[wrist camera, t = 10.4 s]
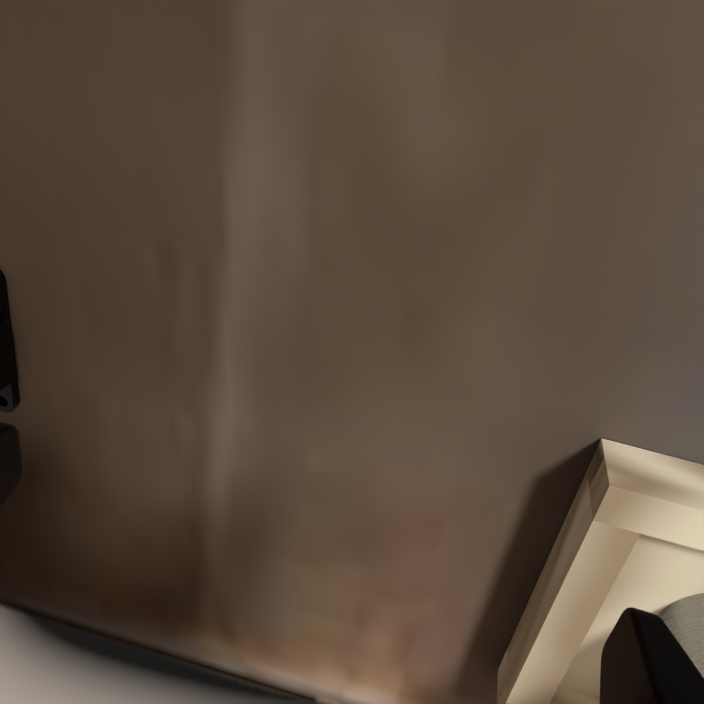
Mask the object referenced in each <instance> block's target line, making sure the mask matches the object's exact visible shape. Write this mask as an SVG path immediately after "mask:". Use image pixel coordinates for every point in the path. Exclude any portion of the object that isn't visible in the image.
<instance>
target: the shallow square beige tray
mask: <svg viewBox="0 0 704 704" xmlns="http://www.w3.org/2000/svg"><path fill="white" fill-rule="evenodd" d="M701 593H704V465H702V464H698V463H694V462H690V461H686V460H682V459H679V458H675V457H671V456H667V455H663V454H660V453H656V452H652V451H648V450H644V449H640V448H637V447H633V446H629V445H625V444H621V443H617V442H614V441H610V440H606V439H602V438H601V440H600V443H599V445H598V447H597V449H596V452H595V454H594V456H593V458H592V461H591V463H590V465H589V467H588V470H587V472H586V474H585V476H584V478H583V481H582V483H581V485H580V487H579V490H578V492H577V494H576V496H575V499H574V501H573V503H572V505H571V507H570V510H569V512H568V514H567V516H566V519H565V521H564V523H563V525H562V528H561V530H560V532H559V534H558V537H557V539H556V541H555V543H554V545H553V548H552V550H551V552H550V554H549V557H548V559H547V561H546V563H545V566H544V568H543V570H542V572H541V575H540V577H539V579H538V581H537V583H536V586H535V588H534V590H533V592H532V595H531V597H530V599H529V601H528V604H527V606H526V608H525V610H524V613H523V615H522V617H521V619H520V621H519V624H518V626H517V628H516V630H515V633H514V635H513V637H512V639H511V642H510V644H509V646H508V648H507V651H506V653H505V655H504V657H503V659H502V662H501V664H500V666H499V668H498V681H497V704H600V669H601V655H602V650H603V647H604V644H605V642H606V640H607V638H608V637H609V635H610V633H611V631H612V630H613V628H614V626H615V624H616V623H617V621H618V619H619V617H620V616H621V614H622V613H623V611H624V610H625V609H626V608H629V607H633V608H637V609H640V610H644V611H647V612H650V613H654V614H656V615H658V614H659V613H660V612H661V611H662V610H663V609H664V608H665V607H667V606H668V605H670V604H671V603H673V602H675V601H677V600H679V599H682V598H685V597H688V596H692V595H696V594H701Z"/></svg>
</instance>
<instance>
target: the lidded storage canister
mask: <svg viewBox="0 0 704 704" xmlns="http://www.w3.org/2000/svg"><path fill="white" fill-rule="evenodd" d="M658 616H659V617H661V618H662V619H663V621H664V622H665V623H666V625H667V626H668V628H669V629H670V630H671V632H672V633H673V635H674V636H675V637H676V639H677V640H678V642H679V643H680V645H681V646H682V647H683V649H684V650H685V652H686V653H687V655H688V656H689V657H690V659H691V660H692V662H693V663H694V664H695V666H696V667H697V669H698V670H699V672H700V673H701V674H702V676H703V677H704V593H701V594H696V595H692V596H688V597H685V598H682V599H679V600H677V601H675V602H673V603H671V604H670V605H668V606H667V607H665V608H664V609H663V610H662V611H661V612H660V613H659V614H658Z"/></svg>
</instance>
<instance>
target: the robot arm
mask: <svg viewBox="0 0 704 704" xmlns="http://www.w3.org/2000/svg"><path fill="white" fill-rule="evenodd" d="M18 404H19V391H18V382H17V374H16V365H15V357H14V348H13V339H12V331H11V322H10V314H9V305H8V297H7V288H6V280H5V276H4V274H3V273H2V271H1V270H0V410H1V411H6V412H8V411H11V410H12V409H13V408H15V407H16V406H17V405H18ZM22 470H23V463H22V455H21V446H20V438H19V432H18V430H17V429H16V427H15V426H13V425H11V424H7V423H4V422H0V509H1V508H2V506H3V505H4V503H5V502H6V500H7V499H8V497H9V496H10V494H11V493H12V491H13V490H14V488H15V487H16V486H17V484H18V482H19V480H20V478H21V475H22ZM600 704H704V677H703V676H702V674H701V673H700V672H699V670H698V669H697V667H696V666H695V664H694V663H693V662H692V660H691V659H690V657H689V656H688V655H687V653H686V652H685V650H684V649H683V647H682V646H681V645H680V643H679V642H678V640H677V639H676V637H675V636H674V635H673V633H672V632H671V630H670V629H669V628H668V626H667V625H666V623H665V622H664V621H663V619H662V618H661V617H659V616H658V615H656V614H654V613H650V612H647V611H644V610H640V609H637V608H633V607H629V608H626V609H625V610H624V611H623V613H622V614H621V616H620V617H619V619H618V621H617V623H616V624H615V626H614V628H613V630H612V631H611V633H610V635H609V637H608V638H607V640H606V642H605V644H604V647H603V650H602V655H601V669H600Z"/></svg>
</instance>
